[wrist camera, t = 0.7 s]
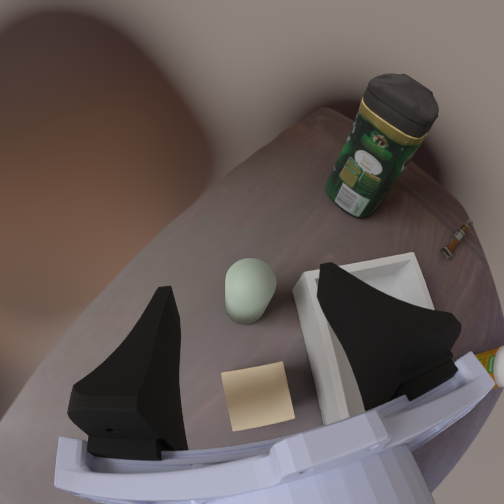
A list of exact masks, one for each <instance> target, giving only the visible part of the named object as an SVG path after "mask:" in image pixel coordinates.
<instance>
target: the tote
mask: <svg viewBox="0 0 504 504" xmlns="http://www.w3.org/2000/svg"><path fill="white" fill-rule="evenodd" d="M339 267H341V268H342V269H344V270H346V271H347V272H349V273H350V274H352V275H354V276H355V277H357V278H358V279H360V280H362V281H363V282H365V283H367V284H369V285H370V286H372V287H374V288H376V289H378V290H380V291H382V292H384V293H386V294H388V295H390V296H392V297H395V298H397V299H399V300H402V301H405V302H407V303H410V304H413V305H416V306H420V307H423V308H427V309H431V310H434V307H433V303H432V300H431V297H430V294H429V291H428V289H427V286H426V283H425V280H424V277H423V275H422V272H421V269H420V267H419V264H418V262H417V259H416V257H415V254H414V252H411V253H406V254H401V255H396V256H390V257H385V258H380V259H375V260H369V261H364V262H358V263H353V264H347V265H342V266H339ZM319 272H320V269H319V270H313V271H307V272H304V273H303V275H302V276H301V277H300V279H299V280H298V282H297V283H296V285H295V286H294V288H293V289H292V293H293V296H294V300H295V304H296V308H297V312H298V316H299V320H300V325H301V329H302V333H303V337H304V341H305V345H306V349H307V354H308V358H309V362H310V366H311V371H312V375H313V380H314V384H315V388H316V393H317V397H318V402H319V407H320V411H321V416H322V421H323V425H327V424H330V423H334V422H337V421H340V420H343V419H345V418H348V417H351V416H354V415H357V414H359V413H362V412H365V409H364V405H363V402H362V398H361V395H360V391H359V388H358V385H357V382H356V379H355V376H354V373H353V371H352V368H351V365H350V363H349V361H348V358H347V356H346V353H345V351H344V349H343V347H342V345H341V343H340V342H339V340H338V338H337V336H336V335H335V333H334V331H333V329H332V328H331V326H330V324H329V322H328V321H327V319H326V317H325V315H324V314H323V311H322V309H321V307H320V304H319V301H318V299H317V288H318V280H319Z"/></svg>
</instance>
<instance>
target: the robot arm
mask: <svg viewBox="0 0 504 504" xmlns="http://www.w3.org/2000/svg"><path fill="white" fill-rule="evenodd" d="M317 299H318V301H319V304H320V307H321V309H322V311H323V314H324V315H325V317H326V319H327V321H328V322H329V324H330V326H331V328H332V329H333V331H334V333H335V335H336V336H337V338H338V340H339V342H340V343H341V345H342V347H343V349H344V351H345V353H346V356H347V358H348V361H349V363H350V365H351V368H352V371H353V373H354V376H355V379H356V382H357V385H358V388H359V391H360V395H361V398H362V402H363V405H364V409H365V412H362V413H359V414H357V415H354V416H351V417H348V418H345V419H343V420H340V421H337V422H334V423H330V424H327V425H324V426H321V427H317V428H314V429H310V430H307V431H303V432H299V433H297V434H293V435H289V436H284V437H280V438H275V439H271V440H266V441H260V442H255V443H249V444H243V445H236V446H229V447H221V448H211V449H200V450H188V445H187V440H186V435H185V428H184V422H183V415H182V407H181V398H180V386H179V365H180V345H181V328H180V316H179V313H178V309H177V306H176V302H175V299H174V295H173V291H172V287H171V286H163V287H158V288H157V290H156V292H155V293H154V295H153V297H152V299H151V301H150V302H149V304H148V306H147V307H146V309H145V311H144V312H143V314H142V316H141V317H140V319H139V320H138V322H137V323H136V325H135V326H134V328H133V329H132V331H131V332H130V333H129V335H128V336H127V337H126V338H125V340H124V341H123V342H122V343H121V345H120V346H119V347H118V348H117V349H116V350H115V351H114V352H113V353H112V354H111V355H110V356H109V357H108V358H107V359H106V360H105V361H104V362H103V363H102V364H101V365H99V366H98V367H97V368H96V369H95V370H93V371H92V372H91V373H90V374H88V375H87V376H86V377H84V378H83V379H81V380H80V381H79V382H77V383H76V384H74V385H73V388H72V392H71V396H70V401H69V406H68V412H67V414H68V416H69V418H70V419H71V421H72V422H73V423H74V424H76V425H77V426H78V427H79V428H80V429H81V430H83V431H84V432H85V433H86V434H87V435H89V437H88V442H87V441H84V440H81V439H76V438H69V437H64V436H60V437H59V442H58V450H57V458H56V468H55V481H54V485H55V487H57V488H59V489H61V490H64V491H66V492H68V493H71V494H73V495H76V496H78V497H81V498H83V499H86V500H89V501H94V502H99V503H104V504H435V501H434V499H433V497H432V495H431V492H430V490H429V488H428V486H427V484H426V482H425V480H424V478H423V475H422V473H421V471H420V469H419V467H418V465H417V463H416V461H415V459H414V457H413V455H412V453H411V452H412V451H413V450H415V449H417V448H418V447H420V446H422V445H423V444H425V443H426V442H428V441H429V440H431V439H432V438H434V437H435V436H437V435H438V434H440V433H441V432H443V431H444V430H445V429H447V428H448V427H450V426H451V425H452V424H454V423H455V422H456V421H458V420H459V419H460V418H462V417H463V416H464V415H466V414H467V413H468V412H470V411H471V410H472V409H473V408H474V407H475V406H476V405H477V404H478V403H479V402H480V401H481V400H482V399H483V398H484V397H485V396H486V395H487V393H488V392H489V391H490V390H491V389H492V388H493V387H494V386H495V382H494V380H493V379H492V378H491V376H490V375H489V373H488V372H487V371H486V369H485V368H484V367H483V365H482V364H481V363H480V361H479V360H478V359H477V358H476V356H475V355H474V354H473V352H472V351H470V352H468V353H467V354H465V355H464V356H462V357H460V358H459V359H458V360H456V361H455V362H454V363H453V361H452V360H451V358H452V357H453V354H452V353H451V352H450V350H451V348H452V346H453V345H454V343H455V341H456V340H457V338H458V336H459V334H460V331H461V324H460V322H459V321H458V320H457V319H456V318H455V317H454V315H453V314H452V313H448V312H442V311H436V310H431V309H427V308H423V307H420V306H416V305H413V304H410V303H407V302H405V301H402V300H399V299H397V298H395V297H392V296H390V295H388V294H386V293H384V292H382V291H380V290H378V289H376V288H374V287H372V286H370V285H369V284H367V283H365V282H363V281H362V280H360V279H358V278H357V277H355V276H354V275H352V274H350V273H349V272H347V271H346V270H344V269H342V268H341V267H339V266H337V265H336V264H334V263H332V262H330V263H324V264H320V272H319V280H318V288H317Z"/></svg>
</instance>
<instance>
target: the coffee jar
mask: <svg viewBox="0 0 504 504" xmlns="http://www.w3.org/2000/svg"><path fill="white" fill-rule="evenodd" d="M438 111H439V108H438V105H437V102H436V100H435V98H434V97H433V93H432V92H431V91H430V90H429V89H427V88H426V87H424V86H423V85H422V84H420V83H419V82H417V81H416V80H414V79H413V78H411V77H409V76H408V75H406V74H383V75H380V76H377V77H375V78H373V79H371V80H370V82H369V84H368V87H367V89H366V91H365V94H364V96H363V98H362V101H361V104H360V108H359V111H358V114H357V116H356V119H355V122H354V124H353V126H352V129H351V131H350V133H349V136H348V138H347V140H346V142H345V145H344V147H343V149H342V151H341V153H340V156H339V158H338V160H337V162H336V164H335V166H334V168H333V170H332V172H331V174H330V176H329V179H328V181H327V183H326V191H327V193H328V195H329V197H330V198H331V199H332V200H333V202H334V203H335V204H336V205H337V206H338V207H340V208H341V209H342V210H343V211H345V212H347V213H349V214H350V215H353V216H355V217H359V218H364V217H367V216H369V215H370V214H371V213H373V212H374V211H375V210H376V209H377V207H378V206H379V205H380V204H381V202H382V201H383V199H384V198H385V197H386V195H387V194H388V193H389V191H390V189H391V188H392V186H393V185H394V184H395V182H396V181H397V179H398V178H399V176H400V175H401V173H402V172H403V170H404V169H405V168H406V166H407V165H408V163H409V162H410V160H411V159H412V157H413V155H414V154H415V152H416V151H417V149H418V148H419V146H420V145H421V143H422V141H423V140H424V138H425V137H426V135H427V133H428V132H429V130H430V128H431V127H432V125H433V123H434V121H435V120H436V118H437V117H438Z"/></svg>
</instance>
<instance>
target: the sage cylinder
mask: <svg viewBox="0 0 504 504" xmlns="http://www.w3.org/2000/svg"><path fill="white" fill-rule="evenodd" d="M275 289H276V276H275V274H274V272H273V270H272V269H271V267H270V266H269V265H268V264H266V263H265V262H263V261H261V260H258V259H254V258H246V259H242V260H239V261H237V262H236V263H234V264H233V265H232V266H231V267H230V269H229V270H228V272H227V275H226V281H225V308H226V312H227V314H228V316H229V317H230V318H231V319H232V320H233V321H234V322H236V323H238V324H242V325H249V324H252V323H255V322H256V321H258V320H259V319H260V318H261V316H262V315H263V313H264V311H265V309H266V307H267V305H268V304H269V302H270V300H271V298H272V296H273V294H274V292H275Z"/></svg>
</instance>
